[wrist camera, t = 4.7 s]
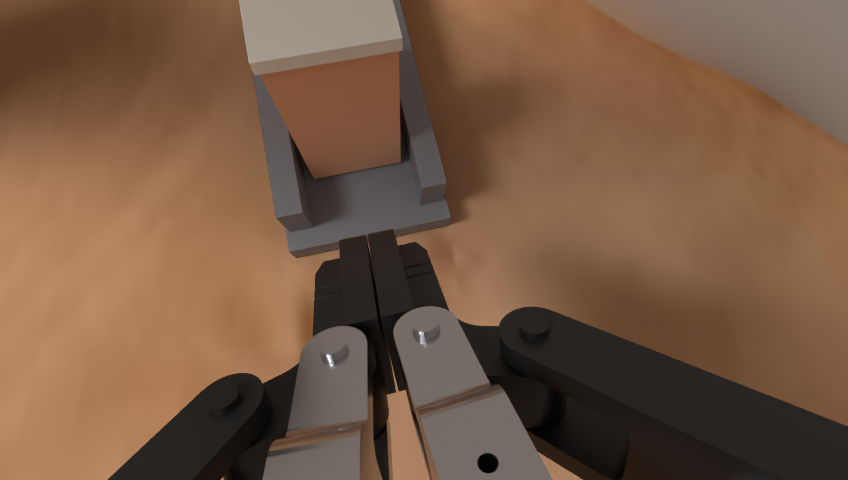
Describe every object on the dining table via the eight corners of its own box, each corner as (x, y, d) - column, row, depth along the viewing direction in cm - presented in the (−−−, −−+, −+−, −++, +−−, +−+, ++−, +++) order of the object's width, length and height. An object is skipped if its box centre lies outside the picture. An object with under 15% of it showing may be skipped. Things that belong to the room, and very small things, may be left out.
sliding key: (403, 163, 23) (402, 38, 14) (312, 181, 23) (248, 63, 13) (382, 79, 24) (369, -90, 15) (296, 94, 24) (227, -71, 14)
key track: (447, 225, 24) (460, 190, 19) (296, 257, 23) (264, 230, 18) (388, -10, 28) (384, -96, 22) (254, 10, 27) (218, -73, 22)
